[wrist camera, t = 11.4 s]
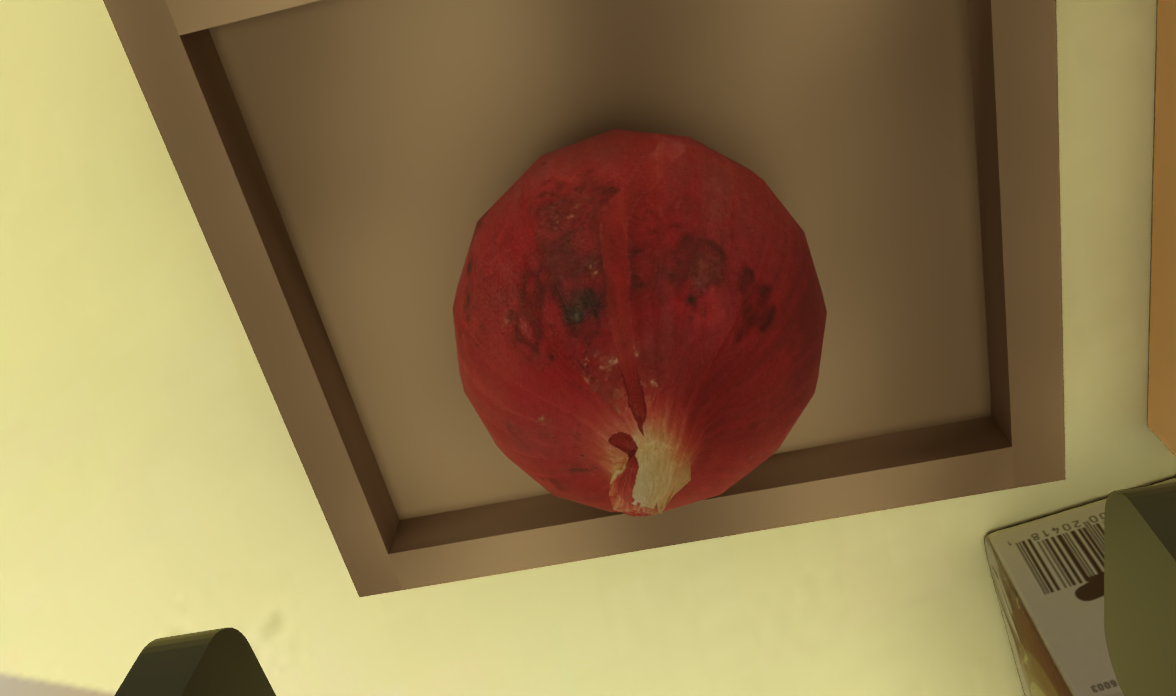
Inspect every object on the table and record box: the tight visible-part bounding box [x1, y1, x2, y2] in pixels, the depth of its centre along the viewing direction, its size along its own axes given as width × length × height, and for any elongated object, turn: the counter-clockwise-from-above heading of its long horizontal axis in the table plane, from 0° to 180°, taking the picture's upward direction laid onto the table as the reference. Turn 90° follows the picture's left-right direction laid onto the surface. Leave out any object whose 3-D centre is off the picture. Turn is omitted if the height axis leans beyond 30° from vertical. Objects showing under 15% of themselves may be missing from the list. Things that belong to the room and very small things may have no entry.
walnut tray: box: [103, 0, 1065, 597], centre depth 19 cm, size 15×13×2 cm
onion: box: [453, 129, 827, 517], centre depth 15 cm, size 6×6×8 cm
